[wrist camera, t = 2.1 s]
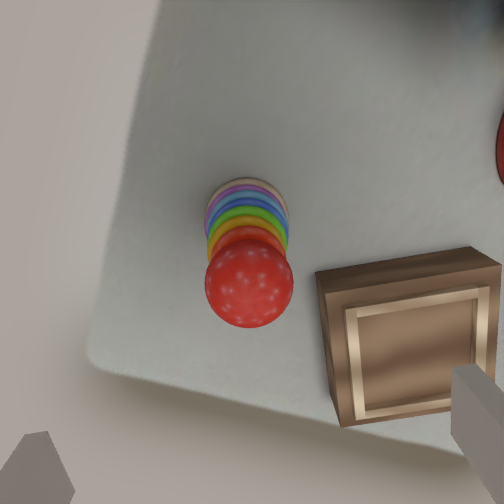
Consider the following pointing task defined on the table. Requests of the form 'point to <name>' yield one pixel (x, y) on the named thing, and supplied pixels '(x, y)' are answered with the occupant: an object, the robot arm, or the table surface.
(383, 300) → the plinth
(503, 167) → the stacking bear
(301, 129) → the table surface
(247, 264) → the stacking toy
